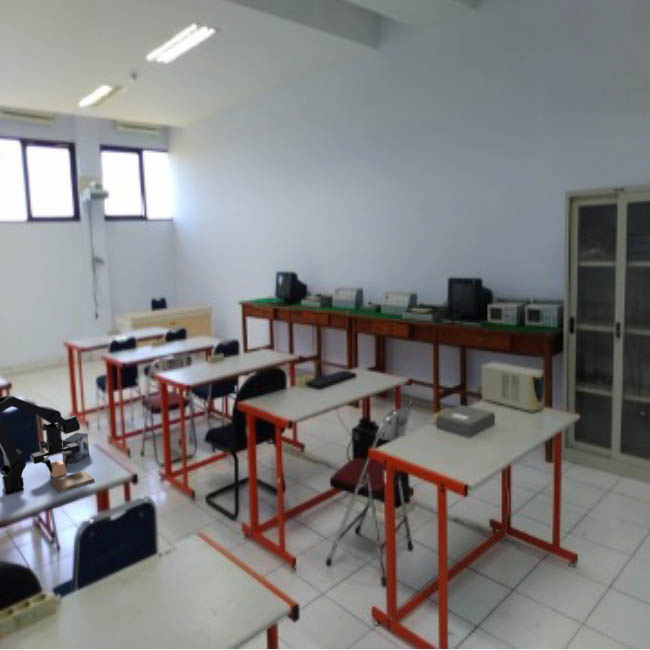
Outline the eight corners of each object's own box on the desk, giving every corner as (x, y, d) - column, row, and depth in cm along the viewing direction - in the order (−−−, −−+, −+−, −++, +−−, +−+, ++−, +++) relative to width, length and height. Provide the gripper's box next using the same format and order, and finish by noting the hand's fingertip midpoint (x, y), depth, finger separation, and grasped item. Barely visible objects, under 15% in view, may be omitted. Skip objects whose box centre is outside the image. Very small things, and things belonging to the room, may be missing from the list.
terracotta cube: (53, 477, 238) (52, 466, 237) (50, 474, 242) (48, 463, 241) (66, 474, 242) (64, 463, 241) (62, 470, 245) (61, 459, 244)
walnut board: (59, 492, 226) (58, 489, 225) (50, 483, 234) (50, 480, 233) (94, 481, 235) (93, 478, 235) (84, 472, 243) (84, 470, 243)
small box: (76, 463, 253) (73, 441, 251) (63, 462, 254) (61, 440, 252) (90, 454, 263) (88, 433, 261) (77, 453, 264) (75, 432, 262)
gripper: (70, 426, 251) (73, 459, 254) (24, 437, 238) (28, 472, 241) (79, 433, 243) (82, 467, 245) (32, 445, 230) (36, 480, 233)
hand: (57, 471), depth 241 cm, fingers closed on terracotta cube, 5 cm apart
